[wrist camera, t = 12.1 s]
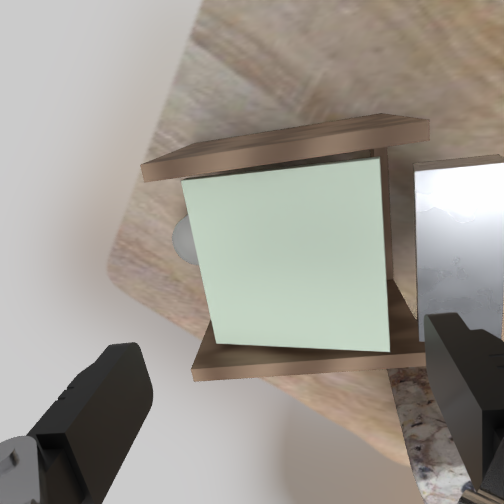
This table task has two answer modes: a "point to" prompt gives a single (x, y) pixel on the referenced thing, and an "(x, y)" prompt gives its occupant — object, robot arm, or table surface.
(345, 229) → the trapdoor
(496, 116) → the table surface
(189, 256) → the smooth gray cylinder
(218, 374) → the stand
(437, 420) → the stone block
